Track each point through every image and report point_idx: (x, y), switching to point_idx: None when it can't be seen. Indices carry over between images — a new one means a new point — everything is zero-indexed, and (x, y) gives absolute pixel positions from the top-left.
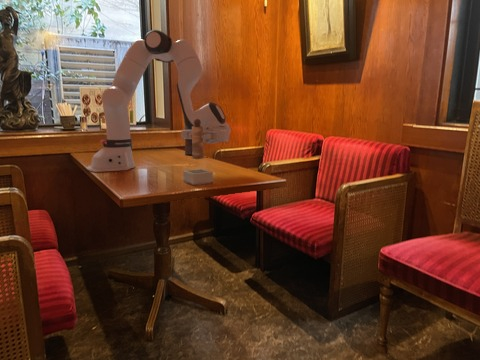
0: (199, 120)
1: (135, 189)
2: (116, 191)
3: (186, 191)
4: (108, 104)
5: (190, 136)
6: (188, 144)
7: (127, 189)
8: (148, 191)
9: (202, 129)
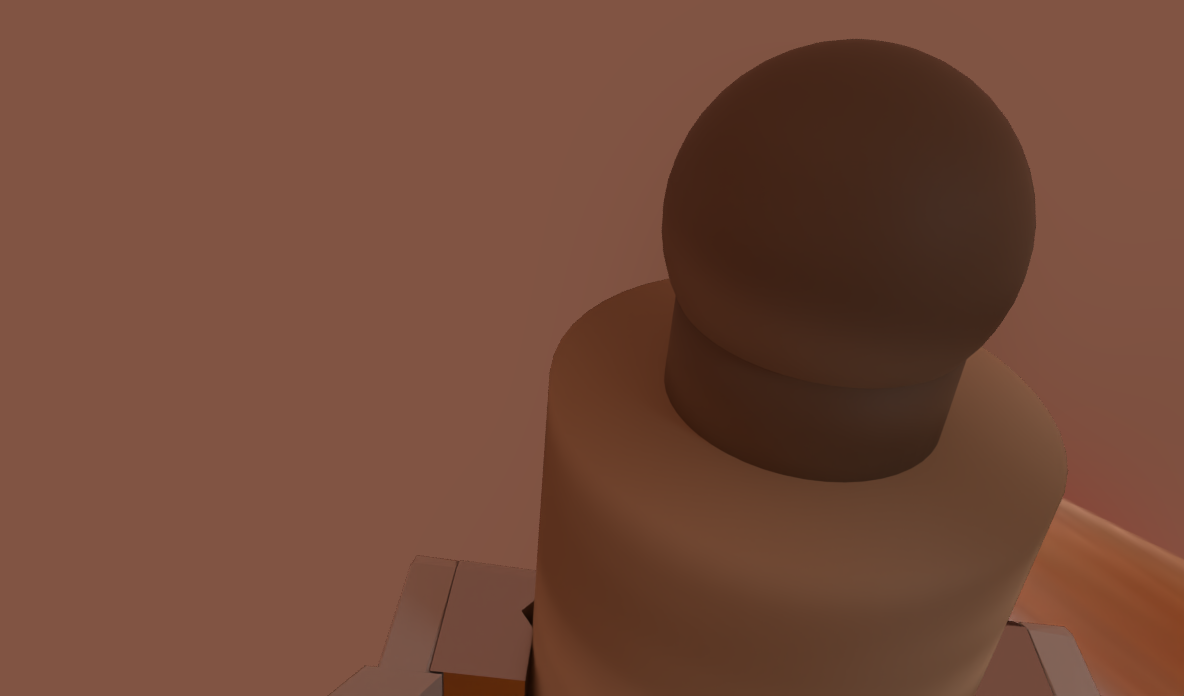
0: (719, 101)
1: (1038, 611)
2: (1105, 530)
3: None
4: None
5: None
6: None
7: (1098, 596)
8: None
9: (544, 486)
